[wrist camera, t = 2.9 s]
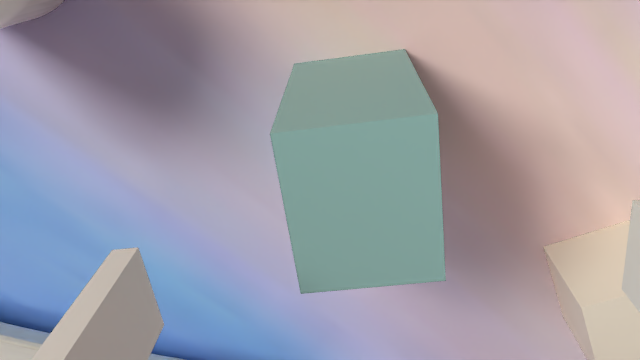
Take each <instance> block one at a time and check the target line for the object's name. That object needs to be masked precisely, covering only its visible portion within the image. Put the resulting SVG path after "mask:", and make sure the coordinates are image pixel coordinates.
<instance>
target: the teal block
mask: <svg viewBox="0 0 640 360" xmlns="http://www.w3.org/2000/svg"><path fill="white" fill-rule="evenodd" d="M270 136H271V141H272V146H273V152H274V157H275V162H276V167H277V172H278V178H279V183H280V188H281V193H282V198H283V204H284V209H285V214H286V219H287V224H288V230H289V235H290V240H291V245H292V251H293V256H294V261H295V266H296V271H297V277H298V282H299V287H300V292H301V294H304V293H315V292H326V291H337V290H348V289H359V288H370V287H381V286H392V285H403V284H414V283H426V282H437V281H446V278H445V256H444V234H443V212H442V191H441V169H440V147H439V126H438V113H437V111H436V109H435V107H434V105H433V103H432V101H431V99H430V97H429V95H428V93H427V91H426V89H425V87H424V86H423V84H422V82H421V80H420V78H419V76H418V74H417V72H416V70H415V68H414V66H413V64H412V62H411V60H410V58H409V56H408V54H407V53H406V51H405V49H403V50H395V51H388V52H380V53H372V54H365V55H357V56H350V57H342V58H335V59H327V60H319V61H312V62H304V63H297V64H294V66H293V69H292V72H291V75H290V78H289V81H288V83H287V86H286V89H285V92H284V95H283V98H282V101H281V104H280V106H279V109H278V112H277V115H276V118H275V121H274V124H273V127H272V129H271V132H270Z"/></svg>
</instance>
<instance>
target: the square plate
mask: <svg viewBox="0 0 640 360" xmlns="http://www.w3.org/2000/svg"><path fill="white" fill-rule="evenodd" d="M49 335H50V333H47V332H42V331H37V330H33V329H28V328H24V327H20V326H15V325H11V324H7V323H3V322H0V360H31V359H32V358H33V356H34V355H35V354H36V352H37V351H38V350H39V348H40V347H41V346H42V344H43V343H44V341H45V340H46V339H47V337H48V336H49ZM148 360H185V359H179V358H173V357H167V356H161V355H156V354H150V356H149V358H148Z"/></svg>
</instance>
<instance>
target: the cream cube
mask: <svg viewBox="0 0 640 360" xmlns="http://www.w3.org/2000/svg"><path fill="white" fill-rule="evenodd" d="M629 225H630V220H628V221H625V222H622V223H619V224H615V225H612V226H609V227H606V228H603V229H599V230H596V231H593V232H590V233H586V234H583V235H580V236H577V237H573V238H570V239H567V240H564V241H560V242H557V243H554V244H551V245H547V246H544V247H543V248H544V252H545V255H546V259H547V262H548V266H549V269H550V273H551V276H552V280H553V283H554V287H555V290H556V294H557V297H558V301H559V304H560V308H561V311H562V315H563V318H564V319H565V321H566V323H567V325H568V326H569V328H570V330H571V332H572V334H573V335H574V337H575V339H576V341H577V342H578V344H579V346H580V348H581V350H582V351H583V353H584V355H585V357H586V358H587V360H640V313H639V311H638V310H637V309H636V307H635V306H634V305H633V303H632V302H631V301H630V299H629V298H628V297H627V295H626V294H625V293H624V291H623V290H622V281H623V273H624V265H625V257H626V249H627V241H628V233H629Z"/></svg>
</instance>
